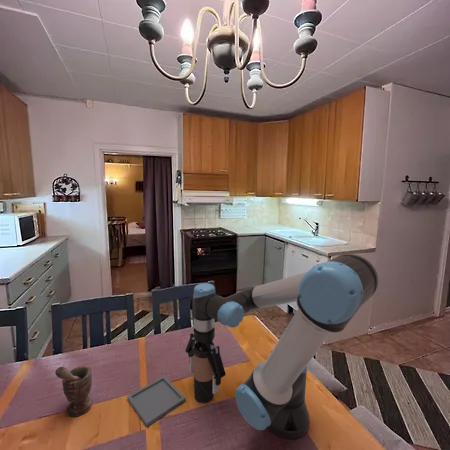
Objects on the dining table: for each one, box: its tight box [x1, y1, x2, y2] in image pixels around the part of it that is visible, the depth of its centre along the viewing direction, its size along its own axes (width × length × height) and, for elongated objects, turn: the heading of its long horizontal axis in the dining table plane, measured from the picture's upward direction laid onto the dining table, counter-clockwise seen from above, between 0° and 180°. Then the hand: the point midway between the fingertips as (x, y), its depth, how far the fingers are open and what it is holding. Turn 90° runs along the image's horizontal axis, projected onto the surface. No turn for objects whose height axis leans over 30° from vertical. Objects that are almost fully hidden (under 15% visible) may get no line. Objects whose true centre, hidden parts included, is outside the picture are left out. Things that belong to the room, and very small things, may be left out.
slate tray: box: [127, 375, 187, 428], centre depth 91 cm, size 15×15×2 cm
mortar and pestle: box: [54, 365, 93, 418], centre depth 85 cm, size 12×9×20 cm
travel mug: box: [193, 342, 215, 404], centre depth 93 cm, size 8×8×20 cm
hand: (204, 381), depth 93 cm, fingers open, 13 cm apart
